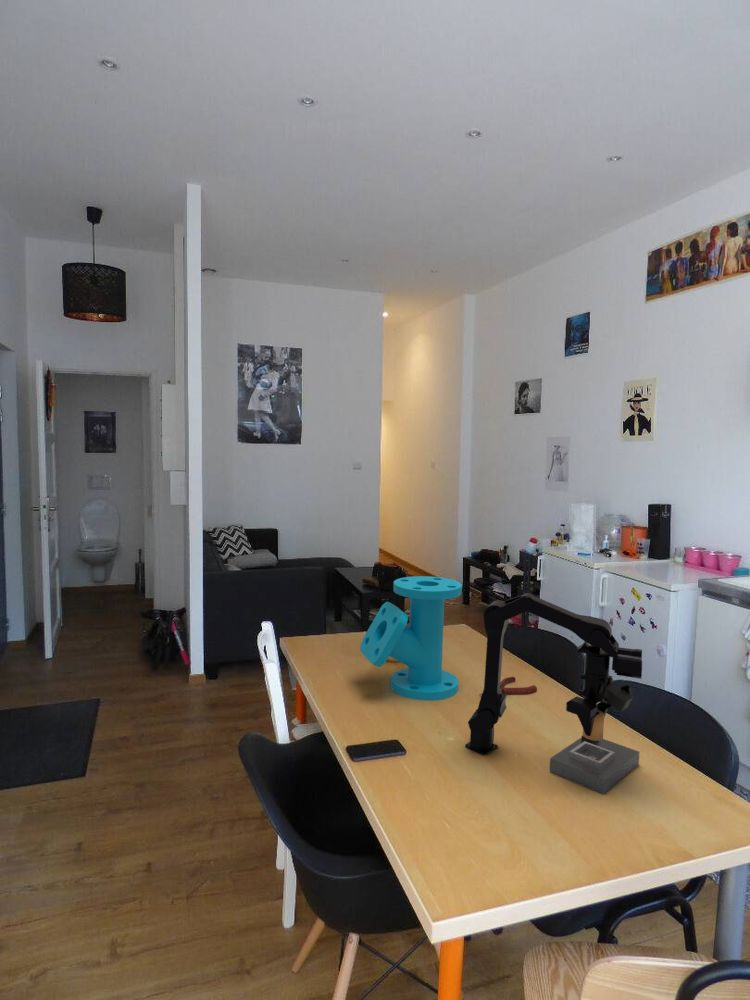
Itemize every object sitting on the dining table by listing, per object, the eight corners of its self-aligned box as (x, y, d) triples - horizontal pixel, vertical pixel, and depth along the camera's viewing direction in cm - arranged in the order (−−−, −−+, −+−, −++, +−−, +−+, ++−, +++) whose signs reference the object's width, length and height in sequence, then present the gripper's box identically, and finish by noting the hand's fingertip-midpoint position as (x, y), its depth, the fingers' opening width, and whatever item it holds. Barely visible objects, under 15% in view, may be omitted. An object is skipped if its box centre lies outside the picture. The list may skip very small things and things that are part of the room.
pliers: (469, 693, 206) (470, 686, 206) (512, 682, 217) (512, 674, 217) (495, 706, 196) (495, 698, 196) (538, 693, 208) (538, 685, 208)
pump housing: (597, 742, 153) (599, 715, 153) (572, 733, 158) (573, 707, 157) (606, 736, 157) (607, 710, 156) (581, 727, 161) (582, 701, 161)
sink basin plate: (604, 794, 147) (605, 774, 146) (549, 771, 156) (550, 752, 156) (638, 764, 161) (639, 746, 160) (586, 745, 171) (587, 727, 170)
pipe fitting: (469, 696, 202) (473, 589, 199) (374, 706, 193) (377, 594, 190) (442, 672, 224) (445, 575, 220) (355, 680, 214) (357, 578, 211)
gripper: (612, 690, 143) (607, 756, 144) (644, 671, 156) (640, 731, 157) (566, 677, 151) (563, 739, 152) (601, 659, 164) (597, 717, 165)
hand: (592, 732), depth 156 cm, fingers closed on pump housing, 5 cm apart
